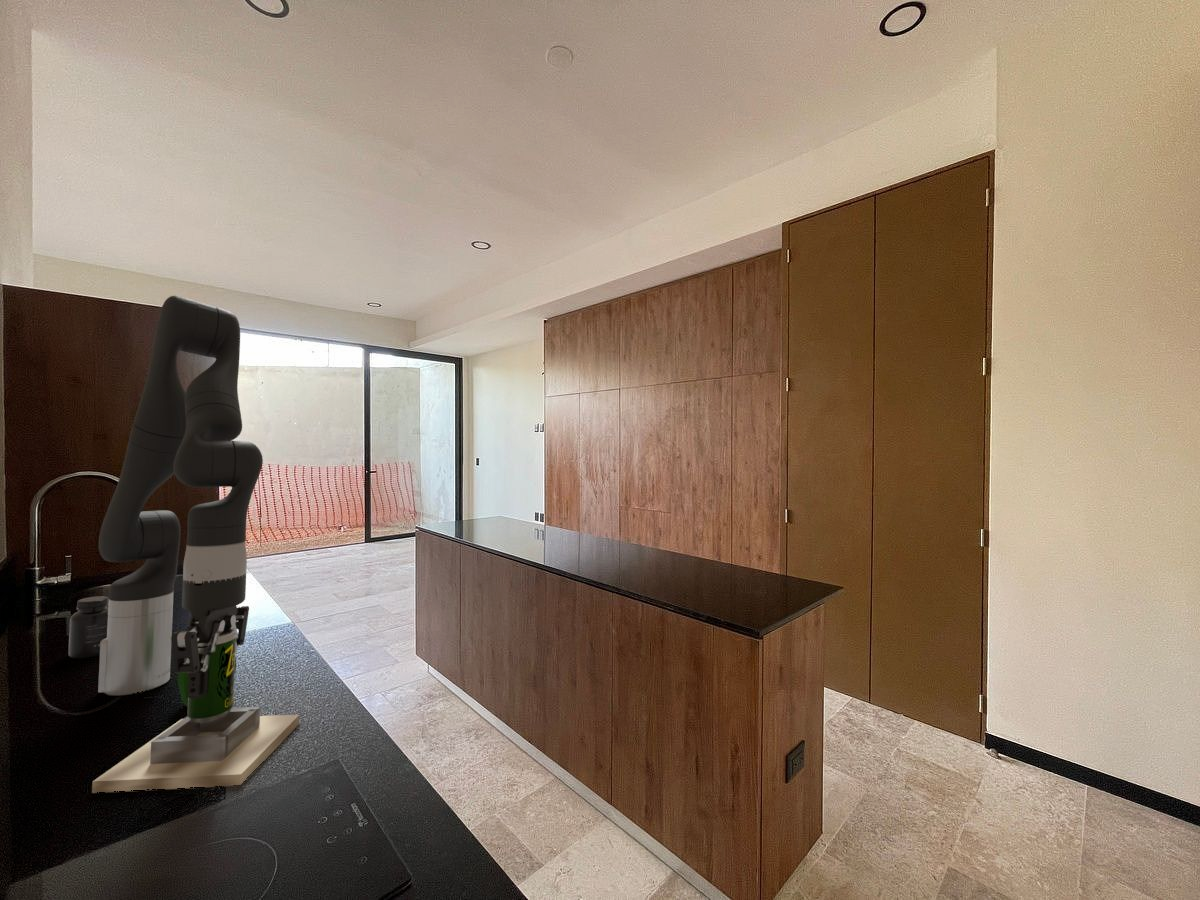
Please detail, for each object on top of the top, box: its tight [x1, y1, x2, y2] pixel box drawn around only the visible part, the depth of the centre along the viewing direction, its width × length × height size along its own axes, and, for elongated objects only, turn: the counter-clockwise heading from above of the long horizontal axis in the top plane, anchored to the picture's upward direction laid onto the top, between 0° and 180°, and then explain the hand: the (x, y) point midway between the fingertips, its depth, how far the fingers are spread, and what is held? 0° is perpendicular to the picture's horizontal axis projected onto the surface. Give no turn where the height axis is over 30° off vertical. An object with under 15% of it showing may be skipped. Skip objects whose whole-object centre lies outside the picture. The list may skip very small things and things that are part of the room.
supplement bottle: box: [68, 595, 109, 659], centre depth 111 cm, size 7×7×12 cm
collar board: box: [91, 706, 300, 794], centre depth 74 cm, size 18×16×4 cm
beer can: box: [187, 629, 236, 723], centre depth 74 cm, size 5×5×12 cm
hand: (211, 687), depth 74 cm, fingers closed on beer can, 5 cm apart
